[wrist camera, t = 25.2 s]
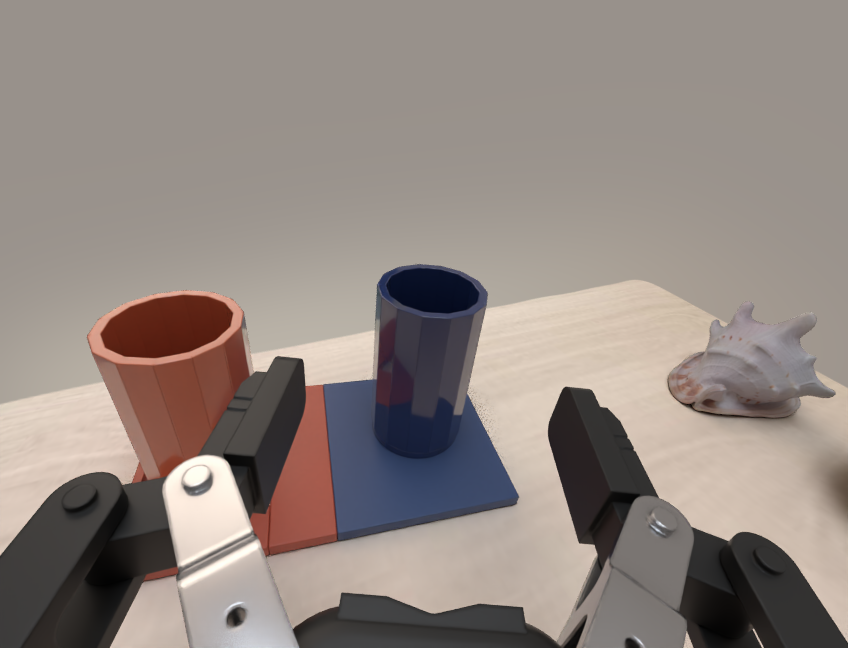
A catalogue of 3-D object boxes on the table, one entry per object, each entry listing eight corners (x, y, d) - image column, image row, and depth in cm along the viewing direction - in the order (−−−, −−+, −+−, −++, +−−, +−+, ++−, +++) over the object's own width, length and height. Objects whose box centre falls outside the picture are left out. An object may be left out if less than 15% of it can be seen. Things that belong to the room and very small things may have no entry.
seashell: (827, 417, 35) (909, 330, 30) (748, 455, 31) (829, 359, 25) (718, 350, 43) (769, 271, 38) (641, 372, 38) (687, 285, 33)
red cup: (140, 529, 21) (60, 372, 15) (169, 437, 26) (116, 292, 20) (264, 507, 23) (235, 359, 17) (269, 425, 28) (247, 287, 22)
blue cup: (379, 466, 25) (390, 322, 19) (365, 397, 30) (369, 264, 24) (470, 452, 27) (506, 315, 21) (442, 388, 32) (464, 263, 26)
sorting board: (100, 590, 19) (95, 582, 19) (164, 408, 28) (161, 400, 28) (516, 504, 25) (519, 496, 25) (454, 377, 35) (455, 370, 34)
